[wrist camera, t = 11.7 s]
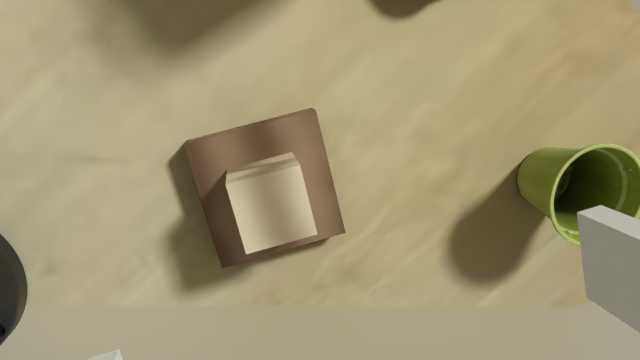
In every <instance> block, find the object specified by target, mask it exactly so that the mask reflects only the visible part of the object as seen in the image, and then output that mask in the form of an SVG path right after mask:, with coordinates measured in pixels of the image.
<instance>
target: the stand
mask: <svg viewBox="0 0 640 360" xmlns="http://www.w3.org/2000/svg"><path fill="white" fill-rule="evenodd" d="M183 146H184V149H185V152H186V155H187V158H188V161H189V164H190V168H191V171H192V174H193V177H194V180H195V183H196V187H197V190H198V193H199V196H200V199H201V202H202V205H203V209H204V212H205V215H206V218H207V221H208V224H209V227H210V231H211V234H212V237H213V240H214V243H215V246H216V249H217V253H218V256H219V259H220V262H221V265H222V268H225V267H228V266H232V265H235V264H239V263H242V262H246V261H249V260H252V259H256V258H259V257H263V256H266V255H270V254H273V253H277V252H280V251H284V250H287V249H291V248H294V247H297V246H301V245H304V244H308V243H311V242H315V241H318V240H322V239H325V238H329V237H332V236H336V235H339V234H343V233H345V229H344V225H343V221H342V217H341V212H340V208H339V204H338V200H337V196H336V192H335V188H334V184H333V179H332V175H331V171H330V167H329V163H328V159H327V155H326V151H325V146H324V142H323V138H322V134H321V130H320V126H319V122H318V118H317V114H316V110H314V109H313V108H310V109H306V110H302V111H298V112H294V113H290V114H287V115H283V116H279V117H275V118H271V119H268V120H264V121H260V122H256V123H252V124H248V125H245V126H241V127H237V128H233V129H229V130H225V131H222V132H218V133H214V134H210V135H206V136H203V137H199V138H195V139H191V140H187V141H186V142H185V143H184V145H183ZM290 152H292V153H293V154H294V156H295V157H296V159H297V161H298V162H299V164H300V167H301V171H302V174H303V178H304V182H305V186H306V190H307V194H308V198H309V202H310V206H311V210H312V214H313V218H314V222H315V226H316V230H317V235H313V236H310V237H306V238H303V239H299V240H296V241H292V242H288V243H285V244H281V245H278V246H274V247H271V248H267V249H264V250H260V251H257V252H253V253H249V254H246V252H245V249H244V246H243V242H242V239H241V236H240V232H239V229H238V225H237V222H236V219H235V215H234V212H233V208H232V205H231V202H230V198H229V195H228V191H227V188H226V175H227V169H230V168H233V167H237V166H241V165H245V164H249V163H252V162H256V161H260V160H264V159H268V158H271V157H275V156H279V155H283V154H287V153H290Z"/></svg>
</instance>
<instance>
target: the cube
mask: <svg viewBox="0 0 640 360" xmlns="http://www.w3.org/2000/svg"><path fill="white" fill-rule="evenodd" d="M226 188H227V191H228V195H229V198H230V202H231V205H232V208H233V212H234V215H235V219H236V222H237V225H238V229H239V232H240V236H241V239H242V242H243V246H244V249H245V252H246V254H249V253H253V252H257V251H260V250H264V249H267V248H271V247H274V246H278V245H281V244H285V243H288V242H292V241H296V240H299V239H303V238H306V237H310V236H313V235H317V230H316V226H315V222H314V218H313V214H312V210H311V206H310V202H309V198H308V194H307V190H306V186H305V182H304V178H303V174H302V171H301V167H300V164H299V162H298V161H297V159H296V157H295V156H294V154H293V153H292V152H290V153H287V154H283V155H279V156H275V157H271V158H268V159H264V160H260V161H256V162H252V163H249V164H245V165H241V166H237V167H233V168H230V169H227V175H226Z"/></svg>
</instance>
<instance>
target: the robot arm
mask: <svg viewBox="0 0 640 360" xmlns="http://www.w3.org/2000/svg"><path fill="white" fill-rule="evenodd" d="M577 218H578V227H579V236H580V245H581V254H582V263H583V272H584V281H585V290H586V297H587V298H589V299H590V300H592V301H593V302H595V303H596V304H598V305H599V306H601V307H602V308H604V309H605V310H607V311H608V312H610V313H611V314H613V315H614V316H616V317H617V318H619V319H620V320H622V321H623V322H625V323H626V324H628V325H629V326H631V327H632V328H634V329H635V330H637V331H638V332H640V220H638V219H636V218H633V217H631V216H628V215H625V214H623V213H620V212H618V211H615V210H613V209H610V208H607V207H605V206H602V205H600V206H596V207H593V208H590V209H586V210H583V211H580V212H577ZM26 300H27V281H26V276H25V272H24V269H23V266H22V263H21V261H20V259H19V257H18V255H17V254H16V252H15V251H14V249H13V248H12V246H11V245H10V244H9V243H8V242H7V240H6V239H5V238H4V237H3V236H2V235H1V234H0V345H1V344H2V343H3V342H4V341H5V340H6V338H7V337H8V336H9V335H10V334H11V332H12V331H13V330H14V328H15V327H16V326H17V324H18V322H19V321H20V319H21V317H22V314H23V312H24V309H25V305H26ZM88 360H123V359H122V356H121V354H120V351H119V349H117V350H114V351H111V352H107V353H104V354H101V355H98V356H94V357H91V358H89V359H88Z"/></svg>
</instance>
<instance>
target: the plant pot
mask: <svg viewBox="0 0 640 360" xmlns="http://www.w3.org/2000/svg"><path fill="white" fill-rule="evenodd" d="M563 179H564V180H565V182H564V185H563V187H562V188H561V190H559V191H558V188H559V186H560V185H561V183H562V181H563ZM517 182H518V186H519V190H520V193H521V195H522V196H523V197H524V198H525V199H526V200H527V201H528V202H529V203H531V204H532V205H533V206H535V207H536V208H537V209H539V210H540V211H541V212H542V213H544V214H545V215H546V216H547V217H548V218H550V219H551V221H552V223H553V225H554V227H555V229H556V230H557V232H558V233H559V234H560V235H561V236H562V237H563V238H564V239H566V240H567V241H569V242H571V243H573V244H576V245H578V246H581V245H580V236H579V227H578V218H577V212H580V211H583V210H586V209H590V208H593V207H596V206H600V205H602V206H605V207H607V208H610V209H613V210H615V211H618V212H620V213H623V214H625V215H628V216H631V217H633V218H636V219H638V217H639V215H640V161H639V160H638V158H637V157H636V156H635V155H634V154H633V153H632V152H630V151H629V150H627V149H625V148H623V147H621V146H618V145H614V144H596V145H592V146H589V147H586V148H583V149H566V148H543V149H540V150H538V151H535V152H533V153H531V154H530V155H529V156H527V157H526V159H525V160H524V161H523V162H522V164H521V166H520V168H519V171H518V175H517Z"/></svg>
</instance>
